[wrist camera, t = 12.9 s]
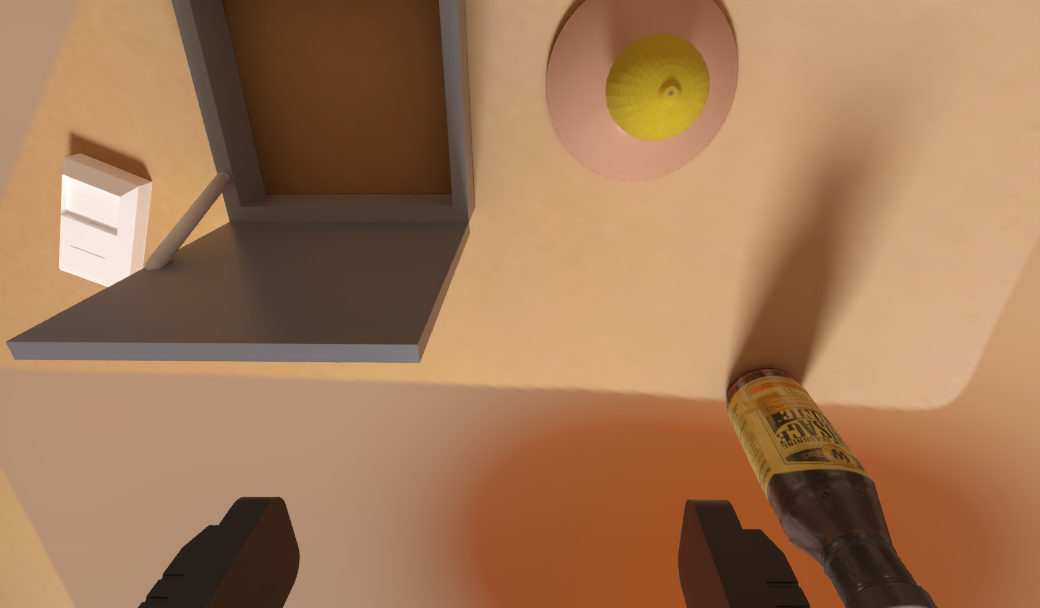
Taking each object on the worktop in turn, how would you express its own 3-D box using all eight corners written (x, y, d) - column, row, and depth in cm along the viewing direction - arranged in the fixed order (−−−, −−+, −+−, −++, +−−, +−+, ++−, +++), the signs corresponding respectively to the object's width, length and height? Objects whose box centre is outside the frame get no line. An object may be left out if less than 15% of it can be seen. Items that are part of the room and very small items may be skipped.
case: (193, -57, 30) (-277, -213, 13) (461, -62, 30) (353, -232, 12) (258, 218, 38) (14, 359, 20) (475, 218, 37) (419, 362, 20)
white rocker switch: (79, 260, 40) (50, 273, 38) (85, 152, 36) (53, 159, 34) (144, 284, 41) (119, 298, 38) (156, 180, 37) (130, 189, 35)
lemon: (660, 15, 31) (696, 3, 24) (702, 97, 33) (748, 108, 25) (582, 73, 32) (593, 78, 25) (626, 148, 34) (649, 172, 27)
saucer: (547, -23, 31) (547, -25, 30) (750, -27, 30) (754, -28, 30) (544, 179, 36) (545, 181, 35) (718, 178, 35) (721, 180, 35)
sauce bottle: (811, 371, 42) (1014, 606, 24) (778, 431, 45) (938, 681, 27) (735, 355, 42) (885, 582, 24) (706, 416, 44) (820, 660, 26)
